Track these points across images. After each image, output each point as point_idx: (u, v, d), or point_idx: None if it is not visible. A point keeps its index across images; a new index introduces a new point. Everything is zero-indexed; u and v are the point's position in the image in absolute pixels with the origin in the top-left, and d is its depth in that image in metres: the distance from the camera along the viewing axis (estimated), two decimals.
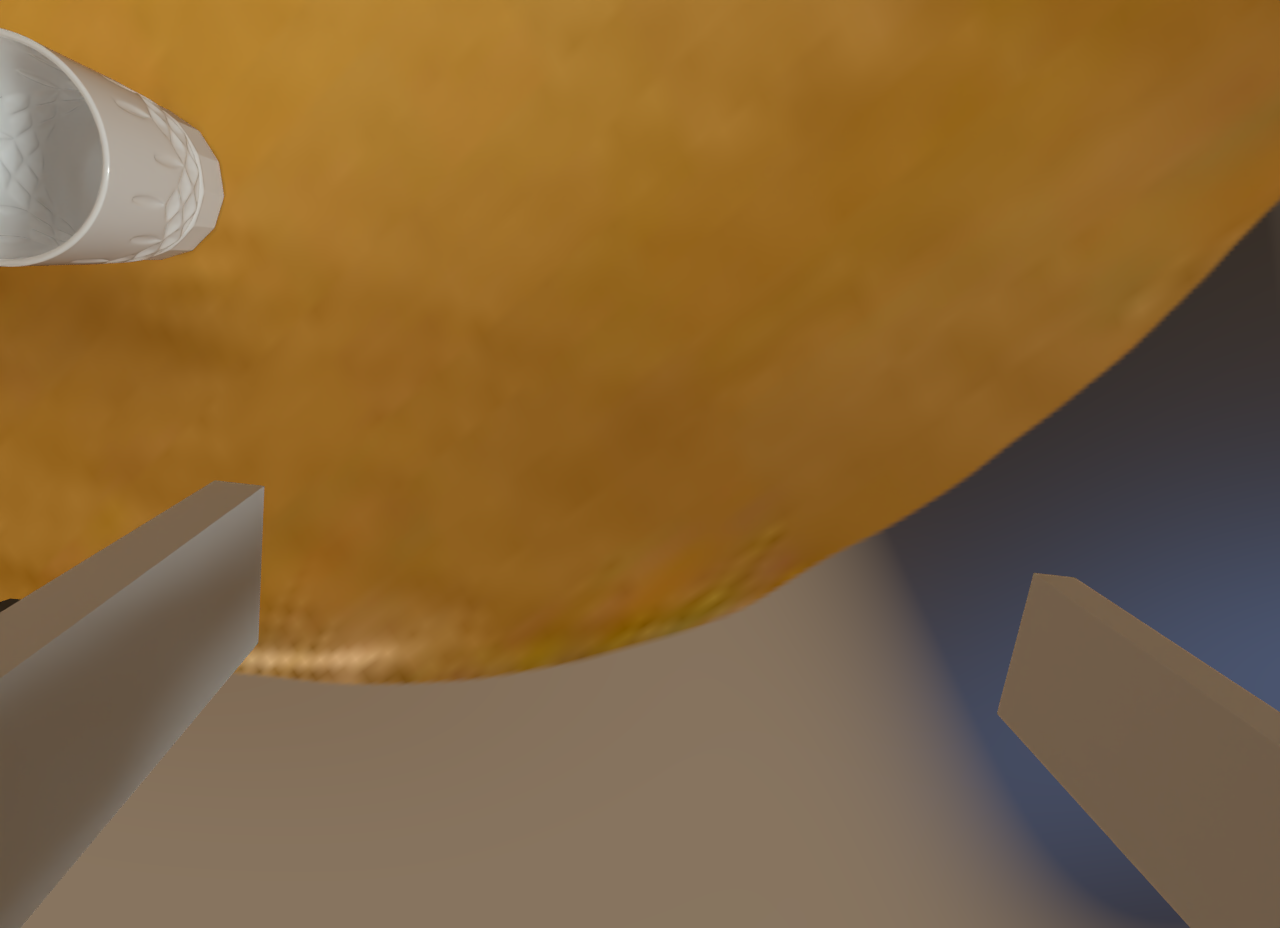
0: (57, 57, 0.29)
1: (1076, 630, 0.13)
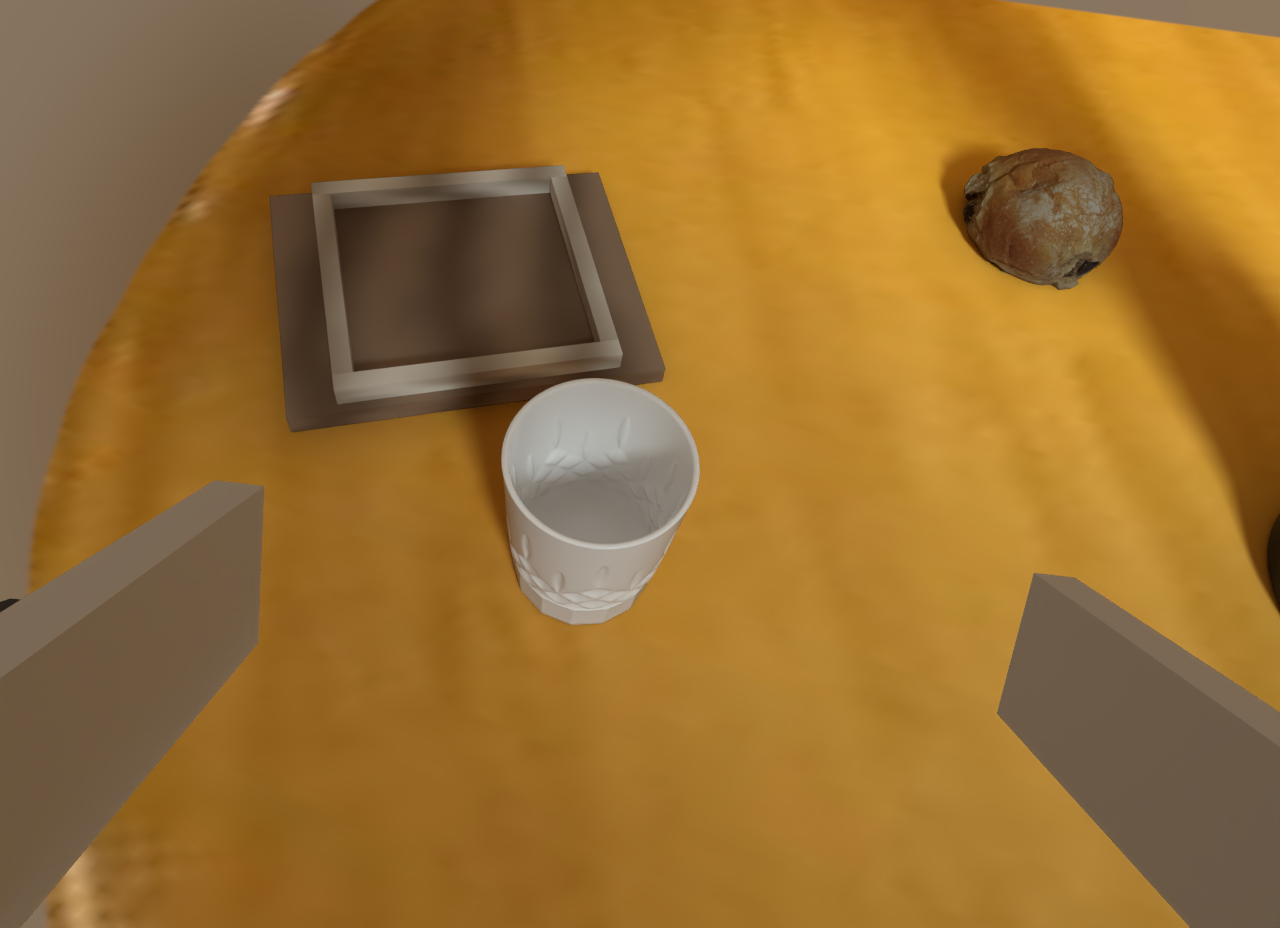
0: (697, 485, 0.34)
1: (1077, 629, 0.13)
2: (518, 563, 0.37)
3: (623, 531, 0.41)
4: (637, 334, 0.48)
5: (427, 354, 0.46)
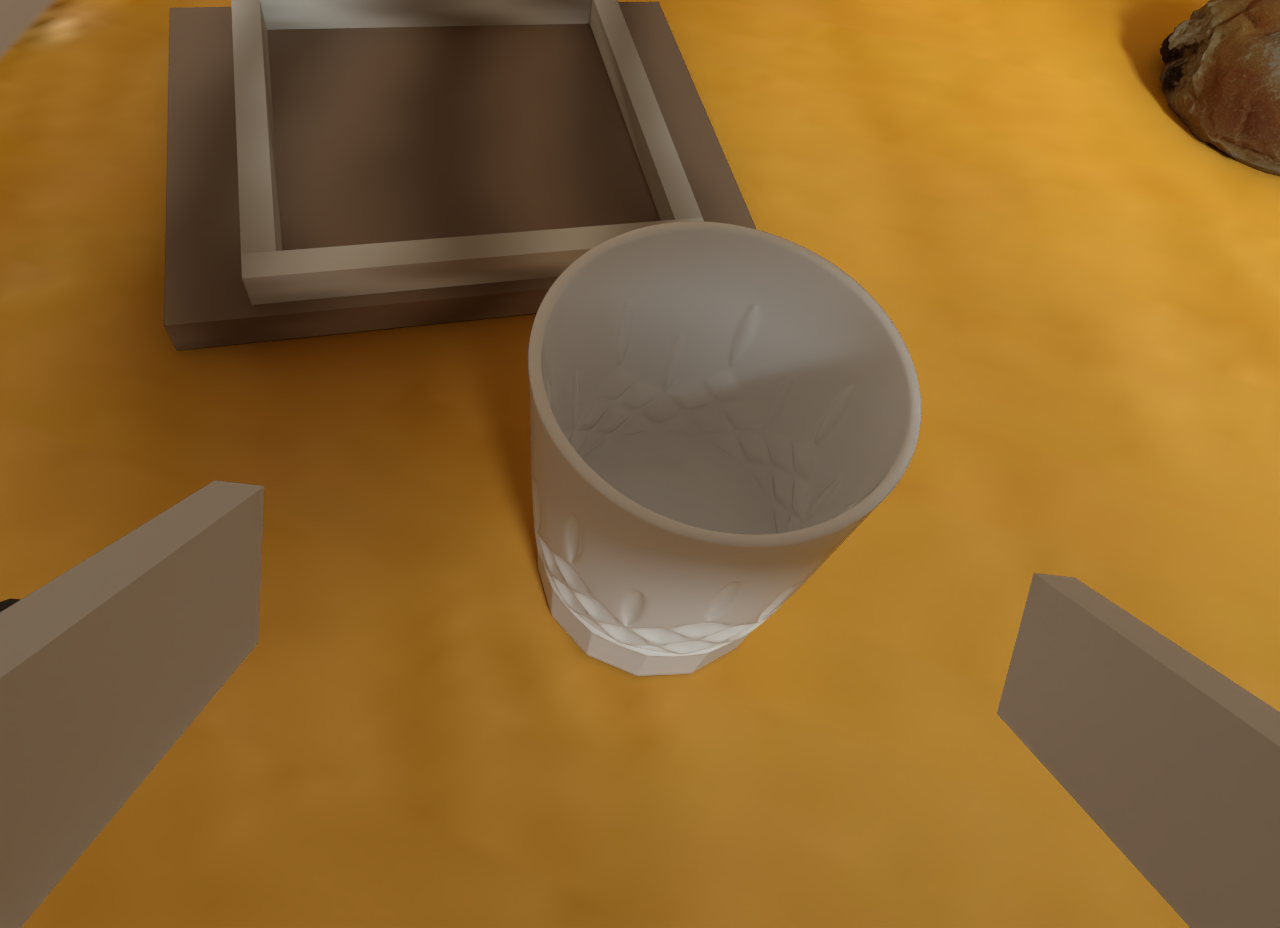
0: (919, 420, 0.17)
1: (1078, 629, 0.13)
2: (552, 571, 0.21)
3: (725, 517, 0.24)
4: (727, 217, 0.31)
5: (402, 234, 0.29)
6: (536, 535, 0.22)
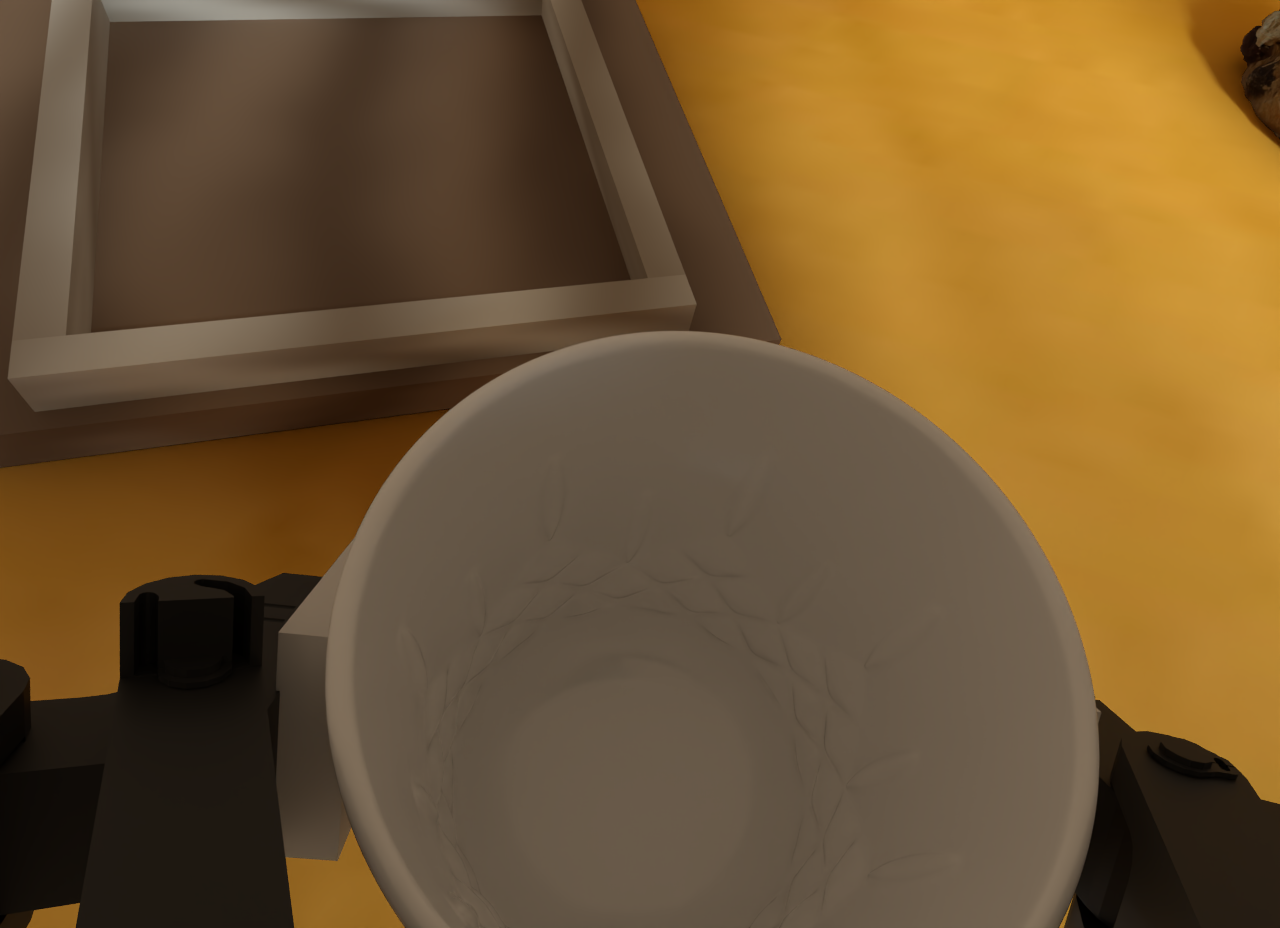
0: (1095, 733, 0.09)
1: None
2: None
3: (720, 738, 0.16)
4: (719, 270, 0.23)
5: (268, 301, 0.21)
6: None
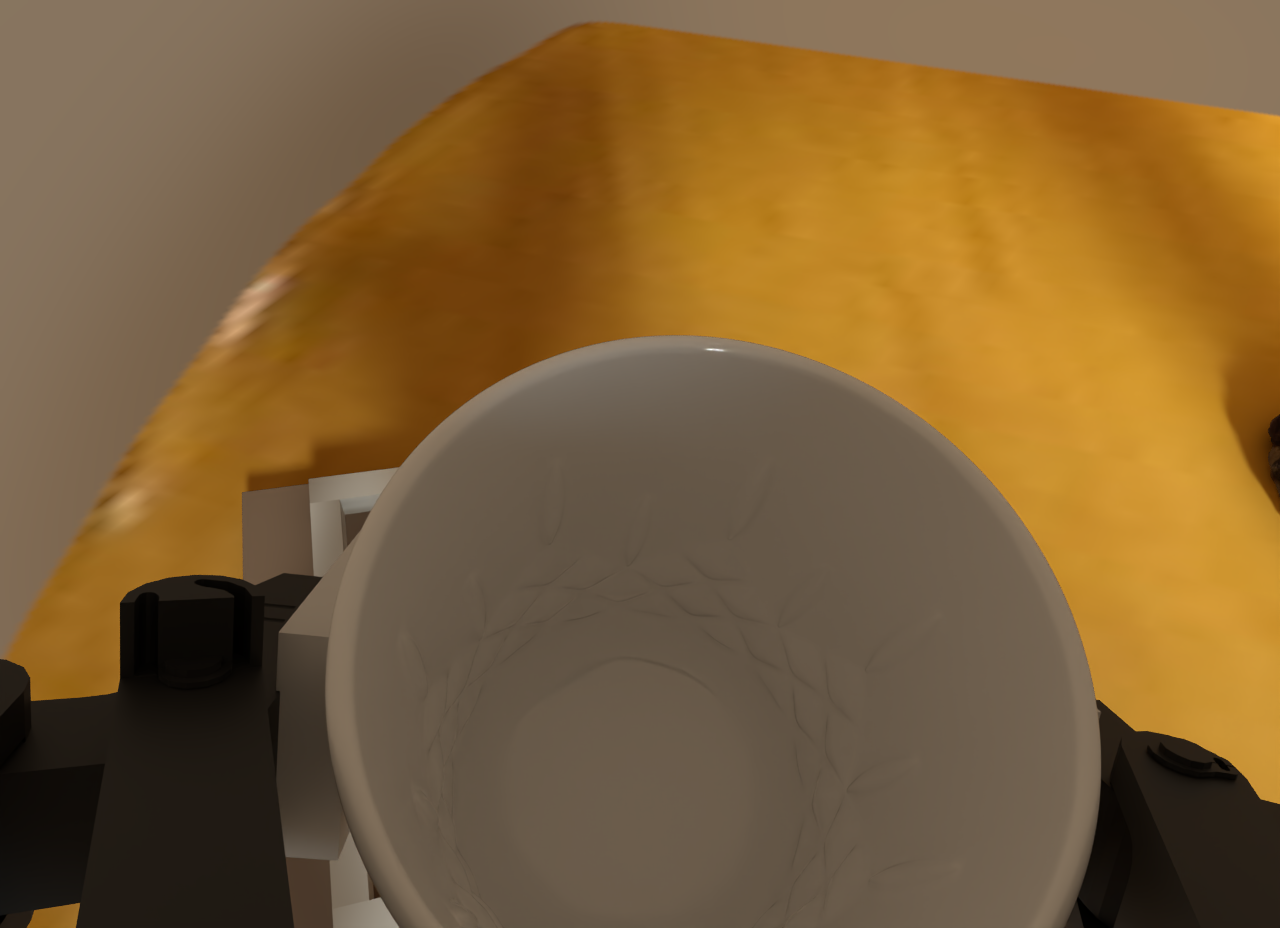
0: (1096, 740, 0.09)
1: None
2: None
3: (720, 741, 0.16)
4: None
5: None
6: None
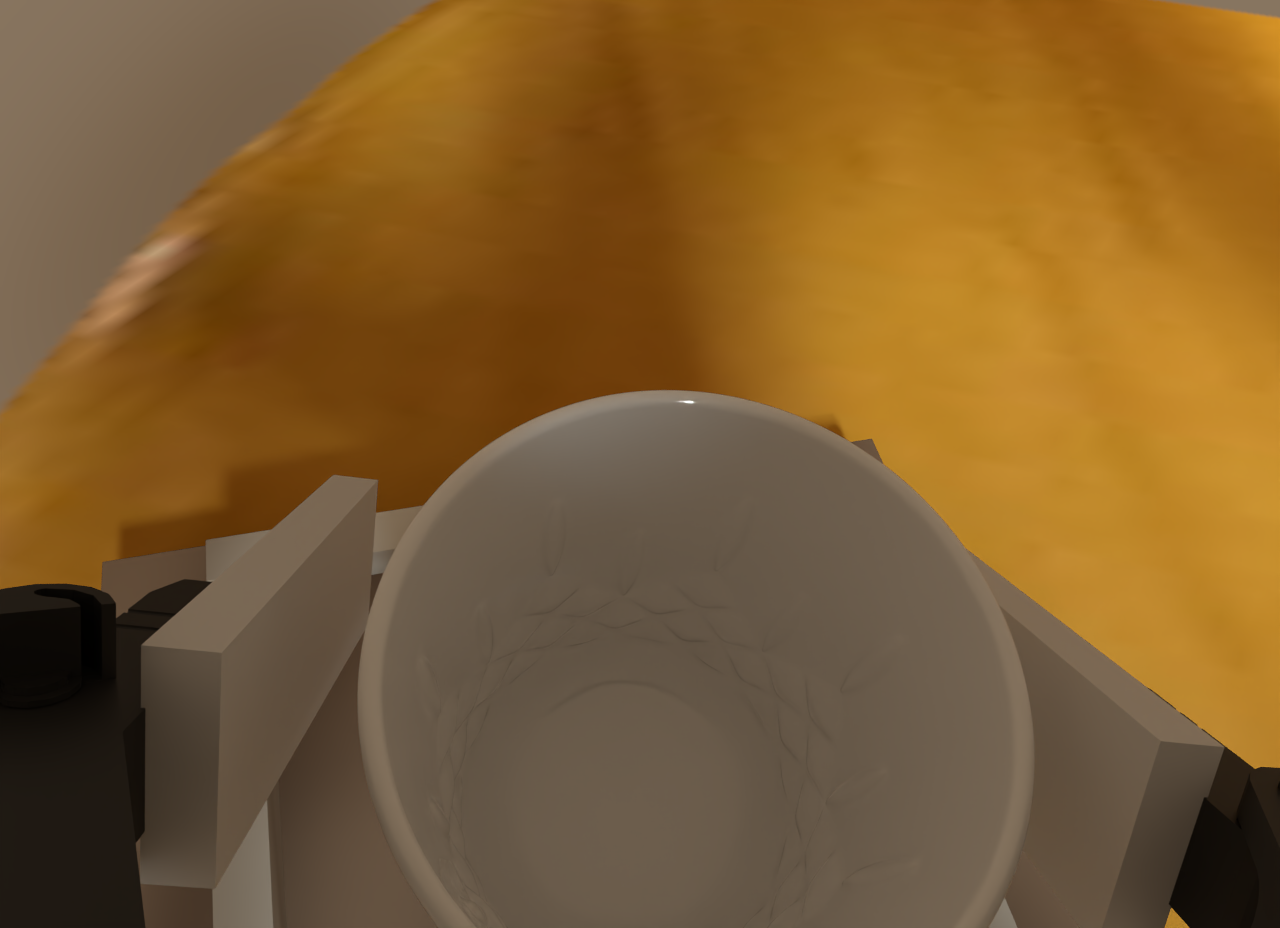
0: (1031, 748, 0.10)
1: None
2: None
3: (711, 759, 0.17)
4: None
5: None
6: None
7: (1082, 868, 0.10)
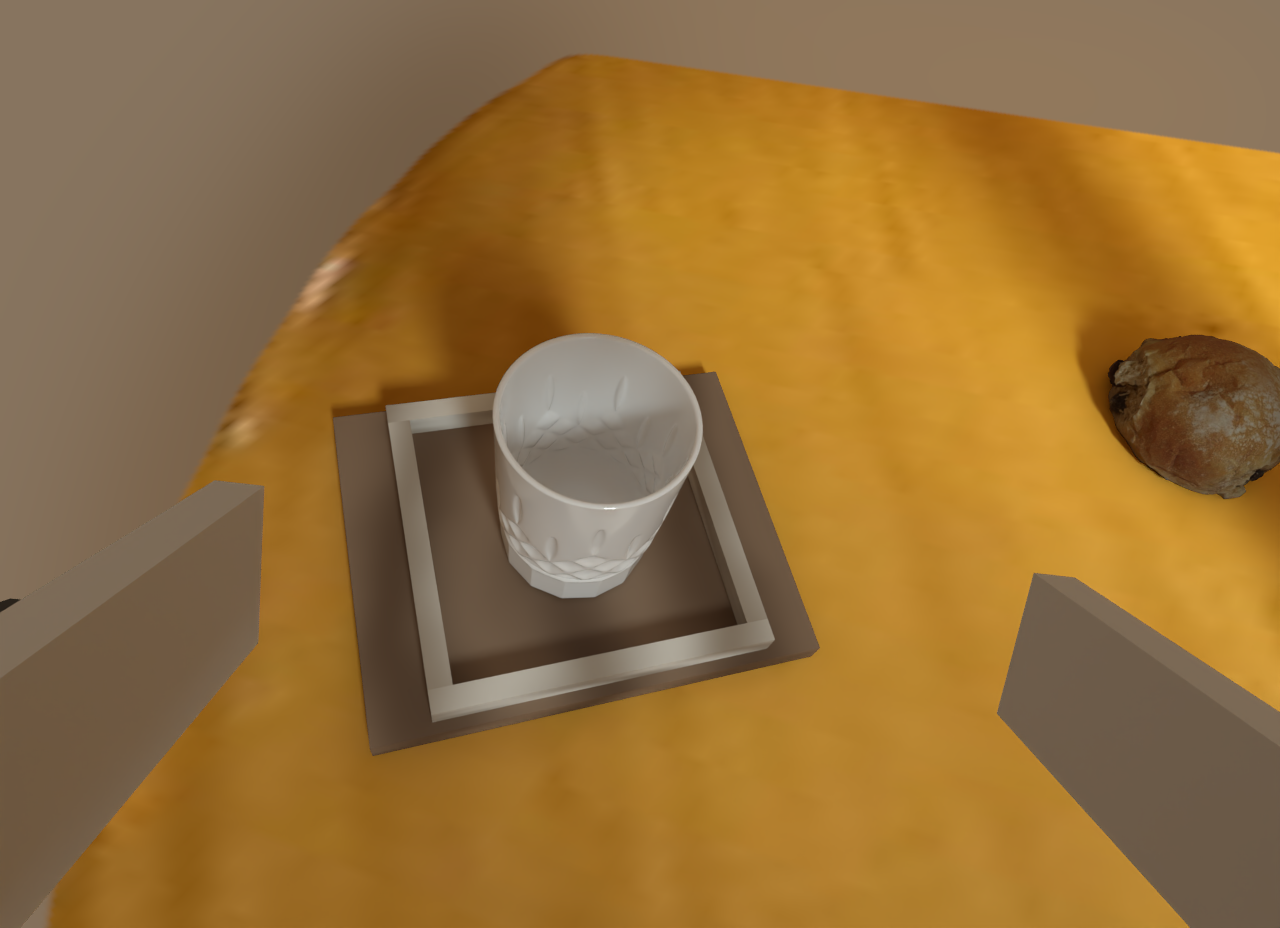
0: (700, 445, 0.32)
1: (1077, 630, 0.13)
2: (507, 530, 0.35)
3: (617, 501, 0.39)
4: (782, 599, 0.40)
5: (537, 640, 0.37)
6: (499, 510, 0.36)
7: None
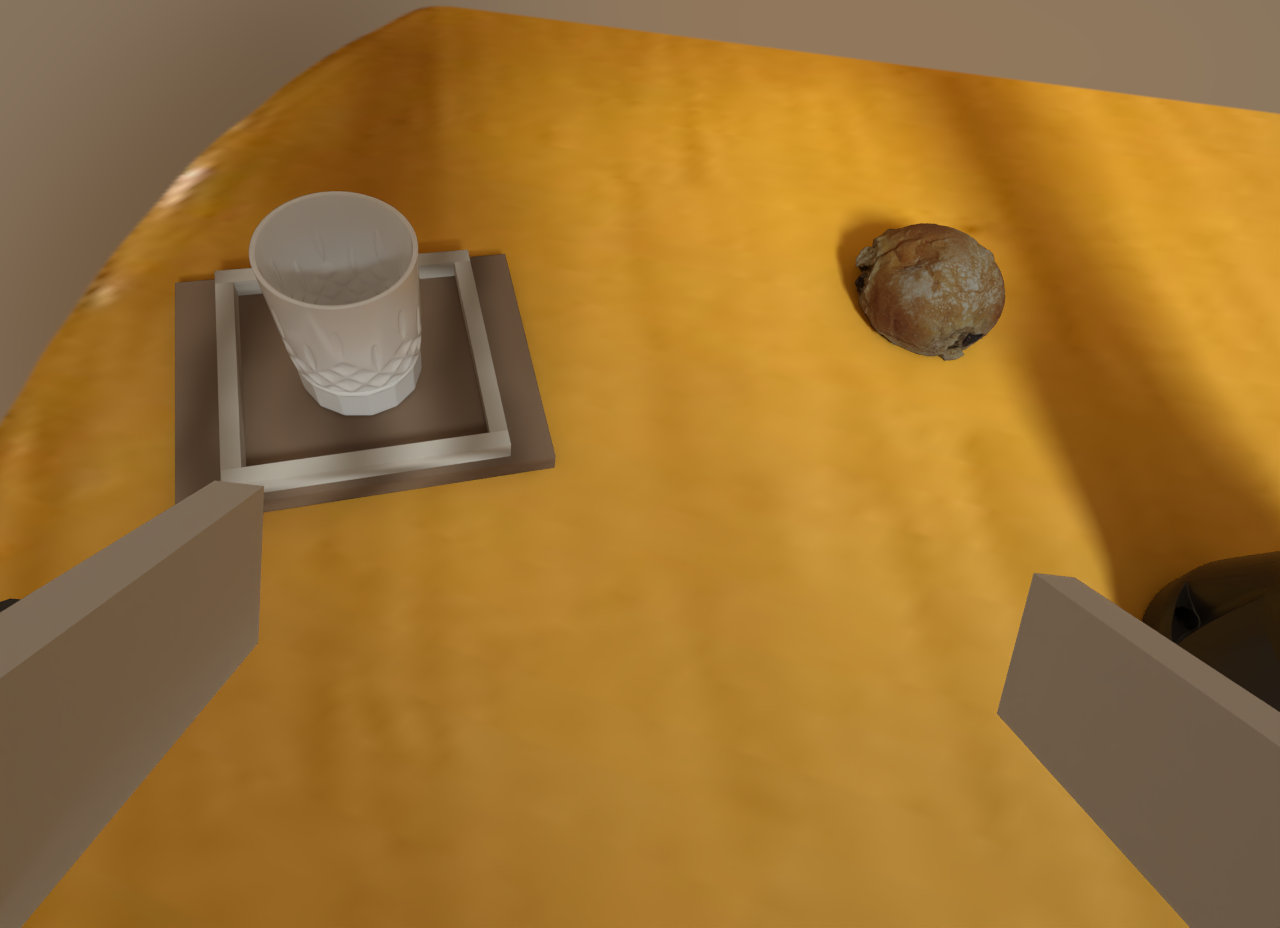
0: (412, 269, 0.41)
1: (1077, 630, 0.13)
2: (288, 352, 0.45)
3: None
4: (530, 421, 0.50)
5: (320, 444, 0.47)
6: None
7: None
